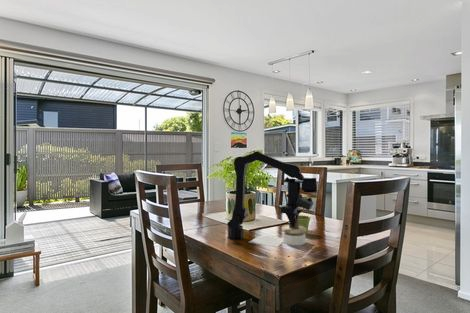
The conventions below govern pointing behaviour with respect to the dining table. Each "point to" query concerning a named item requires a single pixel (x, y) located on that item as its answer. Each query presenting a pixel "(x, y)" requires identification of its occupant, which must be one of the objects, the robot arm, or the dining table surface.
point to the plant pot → (304, 221)
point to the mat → (267, 240)
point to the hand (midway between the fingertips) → (293, 226)
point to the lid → (294, 228)
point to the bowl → (294, 238)
